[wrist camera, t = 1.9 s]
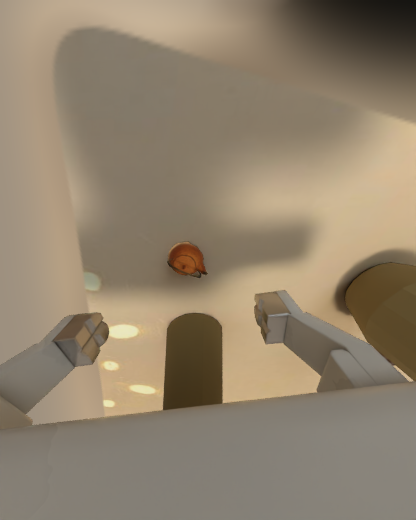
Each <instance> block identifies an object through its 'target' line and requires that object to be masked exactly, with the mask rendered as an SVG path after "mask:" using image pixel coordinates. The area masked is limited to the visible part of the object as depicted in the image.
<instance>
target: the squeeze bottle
mask: <svg viewBox="0 0 416 520" xmlns="http://www.w3.org/2000/svg"><path fill="white" fill-rule="evenodd" d="M345 302H346V305H347V307H348V309H349V310H350V312H351V314H352V316H353V317H354V319H355V321H356V323H357V324H358V326H359V328H360V330H361V331H362V333H363V335H364V337H365V338H366V340H367V342H368V343H370V344H371V345H372V346H373V347H374V348H376V349H377V350H378V351H379V352H380V353H382V354H383V355H384V356H385V357H386V358H388V359H389V360H390V361H391V362H392V363H394V364H395V365H396V366H397V367H398V368H399V369H401V370H402V371H403V372H404V373H405V374H407V375H408V376H409V377H410V378H411V379H413V380H414V381H416V266H411V265H404V264H398V263H391V262H390V263H385V264H381V265H377V266H375V267H373V268H371V269H369V270H367V271H365V272H363V273H362V274H361V275H360V276H358V277H357V278H356V279H355V280H354V281H353V282H352V283H351V285H350V286H349V288H348V289H347V290H346V295H345Z"/></svg>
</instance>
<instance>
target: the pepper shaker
mask: <svg viewBox="0 0 416 520" xmlns="http://www.w3.org/2000/svg"><path fill="white" fill-rule="evenodd" d="M213 404H222V327H221V325H220V324H219V322H218V321H217V320H215V319H214V318H213V317H210V316H208V315H205V314H198V313H192V314H185V315H183V316H180V317H178V318H176V319H175V320H174V321H172V322H171V323H170V325H169V327H168V328H167V341H166V361H165V380H164V399H163V410H170V409H178V408H187V407H196V406H204V405H213Z"/></svg>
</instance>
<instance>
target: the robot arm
mask: <svg viewBox="0 0 416 520" xmlns="http://www.w3.org/2000/svg"><path fill="white" fill-rule="evenodd" d="M255 302H256V305H255V306H254V313H255V318H256V321H257V324H258V325H259V326H260V327H261V334H262V336H263V339H264V341H265V343H266V344H274V343H284V344H285V345H286V346H287V347H288V348H289V349H291V350H292V351H293V352H294V353H295V354H296V355H297V356H299V357H300V358H301V359H302V360H303V361H304V362H306V363H307V364H308V365H309V366H310V367H311V368H312V369H314V370H315V371H316V372H317V373H318V374H319V375H321V379H320V382H319V385H318V387H317V393H309V394H300V395H291V396H283V397H274V398H265V399H257V400H248V401H239V402H230V403H222V404H213V405H204V406H196V407H187V408H178V409H170V410H161V411H152V412H144V413H135V414H126V415H118V416H109V417H101V418H92V419H83V420H75V421H67V422H57V423H50V424H40V425H32V419H31V418H30V417H28V416H27V415H26V413H27V412H29V411H30V410H31V409H32V408H33V407H34V406H35V405H36V404H37V403H38V402H39V401H40V400H41V399H42V398H43V397H44V396H45V395H47V394H48V393H49V392H50V391H51V390H52V389H53V388H54V387H55V386H56V385H57V384H58V383H59V382H60V381H61V380H62V379H63V378H64V377H66V376H67V375H68V374H69V373H70V372H71V371H72V370H73V369H74V368H75V367H77V366H84V365H91V364H93V363H94V361H95V359H96V358H97V356H98V354H99V352H100V346H102V345H103V344H104V343H105V342H106V340H107V338H108V335H109V328H108V325H107V324H106V323H104V322H103V321H102V320H103V316H102V315H101V313H97V312H96V313H85V314H77V315H69V316H67V317H64V319H63V320H61V322H60V323H59V324H58V325H57V326H56V327H55V328H54V329H53V330H52V331H51V332H50V333H49V334H48V335H47V336H46V337H45V338H44V339H43V340H42V341H41V342H40V343H39V344H34V345H33V346H31V347H29V348H28V349H26V350H24V351H23V352H21V353H20V354H18V355H16V356H15V357H13V358H11V359H10V360H8V361H6V362H5V363H3V364H1V365H0V520H416V381H412V382H409V381H408V380H407V379H406V378H405V377H404V376H403V375H402V374H401V373H400V372H398V371H397V370H396V369H395V368H394V367H393V366H392V365H391V364H390V363H389V362H388V361H387V360H386V359H385V358H384V357H383V356H382V355H381V354H380V353H379V352H378V351H377V350H376V349H375V348H374V347H372V346H371V345H370V344H368V343H366V342H364V341H362V340H360V339H358V338H356V337H354V336H352V335H350V334H348V333H346V332H344V331H342V330H340V329H338V328H336V327H335V326H333V325H331V324H329V323H327V322H325V321H323V320H321V319H319V318H317V317H315V316H313V315H311V314H309V313H307V312H305V313H303V311H302V310H301V309H300V308H299V306H298V305H297V304H296V303H295V301H294V300H293V299H292V298H291V296H290V295H289V294H288V293H287V291H285V290H281V291H275V292H267V293H259V294H255Z"/></svg>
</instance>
